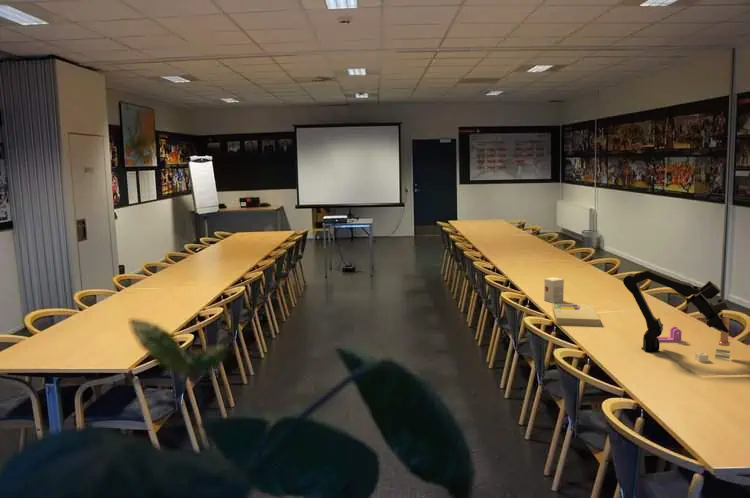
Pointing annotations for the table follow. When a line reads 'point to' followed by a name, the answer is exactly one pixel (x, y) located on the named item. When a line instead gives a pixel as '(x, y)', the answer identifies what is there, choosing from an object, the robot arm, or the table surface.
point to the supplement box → (553, 290)
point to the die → (701, 357)
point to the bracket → (672, 336)
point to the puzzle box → (575, 315)
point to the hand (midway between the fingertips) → (728, 331)
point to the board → (722, 355)
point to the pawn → (724, 333)
